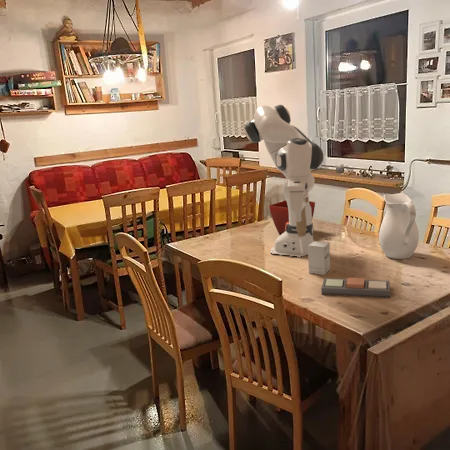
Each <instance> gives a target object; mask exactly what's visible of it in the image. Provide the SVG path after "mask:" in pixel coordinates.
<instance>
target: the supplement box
mask: <svg viewBox="0 0 450 450" xmlns="http://www.w3.org/2000/svg"><path fill="white" fill-rule="evenodd" d="M313 241H314V242H312V243H311V244H310V245H309V246H308V255H307V256H308V273H309V274H313V273H315V274H314V275H320V276H321V275H322V276H325V275H326V274H328V272H329V271H330V270H331V251H330V242H328V241H316V240H313Z"/></svg>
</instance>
